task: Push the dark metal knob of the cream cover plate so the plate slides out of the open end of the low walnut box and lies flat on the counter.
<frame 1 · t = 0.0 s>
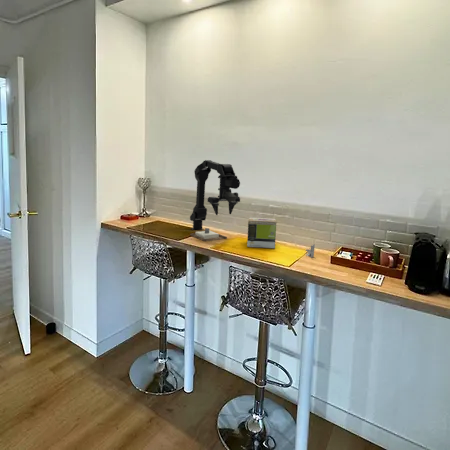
hand: (223, 214, 196), 15 cm above the worktop, fingers open, 9 cm apart
architectural model: (300, 258, 172), on the worktop
cover plate: (206, 236, 203), point 1 cm above the worktop, touching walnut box
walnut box: (208, 237, 202), on the worktop
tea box: (260, 246, 190), on the worktop
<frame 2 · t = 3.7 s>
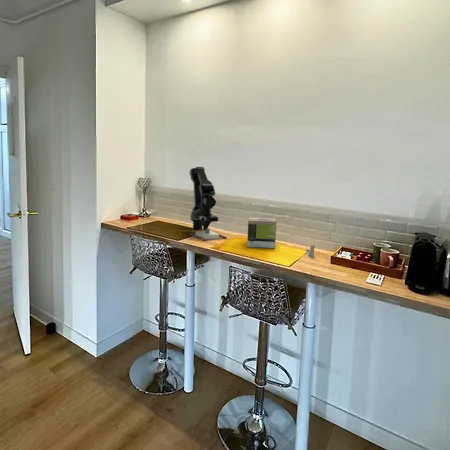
hand: (205, 231, 205), 3 cm above the worktop, fingers closed
cover plate: (207, 236, 203), point 1 cm above the worktop, touching gripper, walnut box
everything else where it was.
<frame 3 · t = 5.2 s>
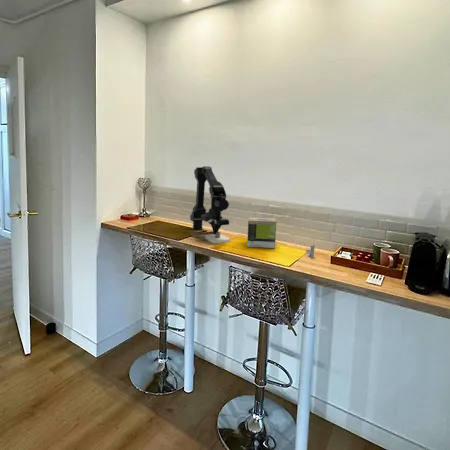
hand: (215, 234, 196), 3 cm above the worktop, fingers closed
cover plate: (217, 240, 195), on the worktop, tilted 6°, touching gripper
everything else where it was.
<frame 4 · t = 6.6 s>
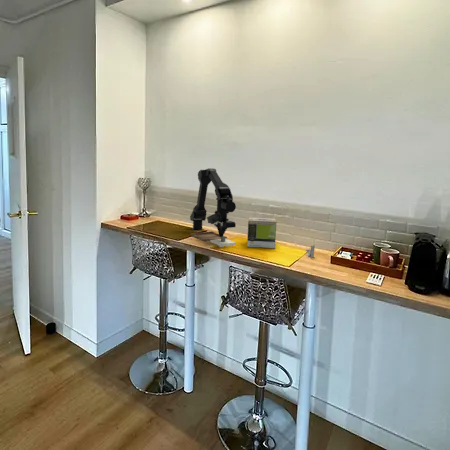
hand: (220, 237, 191), 3 cm above the worktop, fingers closed
cover plate: (222, 244, 190), on the worktop
everything else where it was.
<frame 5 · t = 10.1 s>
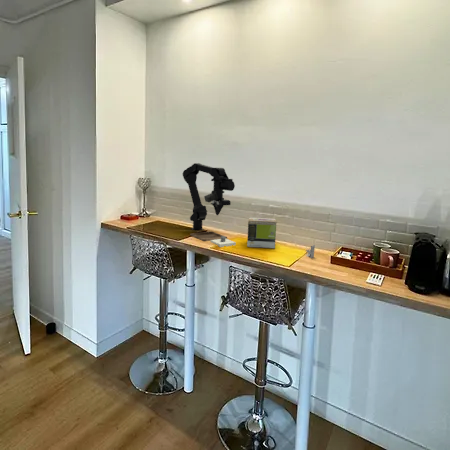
hand: (217, 215, 209), 12 cm above the worktop, fingers closed
nothing on the worktop moved.
at the end: cover plate inside the target area (2.0 cm from its centre), on the worktop; cover plate tilted 0°; cover plate touching worktop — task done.
